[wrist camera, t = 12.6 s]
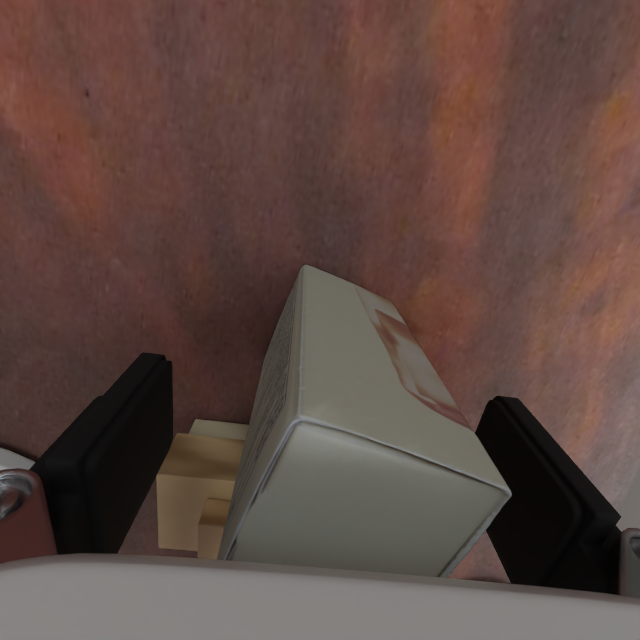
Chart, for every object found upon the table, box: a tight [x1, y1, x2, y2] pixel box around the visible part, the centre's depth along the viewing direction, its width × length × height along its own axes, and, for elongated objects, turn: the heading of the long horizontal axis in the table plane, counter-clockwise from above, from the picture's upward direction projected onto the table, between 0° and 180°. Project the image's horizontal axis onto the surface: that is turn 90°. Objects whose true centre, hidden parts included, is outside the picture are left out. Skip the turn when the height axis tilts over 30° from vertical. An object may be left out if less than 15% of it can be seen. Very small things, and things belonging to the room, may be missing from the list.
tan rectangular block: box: [156, 419, 249, 560], centre depth 17 cm, size 12×4×5 cm, turn 81°
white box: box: [217, 265, 512, 578], centre depth 11 cm, size 5×4×10 cm
